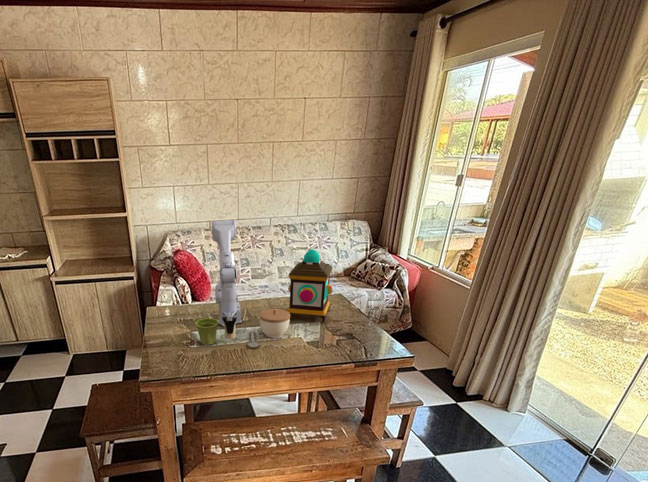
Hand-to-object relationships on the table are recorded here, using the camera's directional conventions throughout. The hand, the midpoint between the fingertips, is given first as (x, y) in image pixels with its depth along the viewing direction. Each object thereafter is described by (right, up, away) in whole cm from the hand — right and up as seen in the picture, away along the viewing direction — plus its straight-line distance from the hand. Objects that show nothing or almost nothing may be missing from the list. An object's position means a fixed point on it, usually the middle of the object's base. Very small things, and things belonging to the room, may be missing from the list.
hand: (230, 331), depth 165 cm
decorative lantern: (+37, +10, +25) cm, 46 cm away
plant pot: (-9, -5, +3) cm, 10 cm away
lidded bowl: (+19, -1, +7) cm, 20 cm away
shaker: (0, -2, +1) cm, 3 cm away
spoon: (+9, -4, +2) cm, 10 cm away
